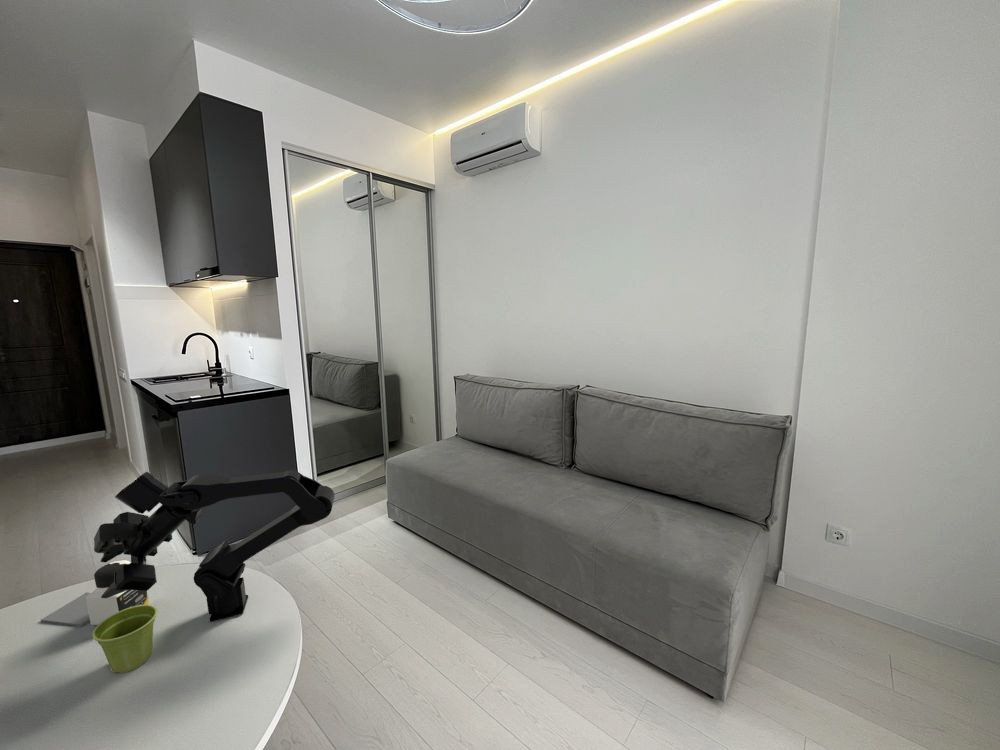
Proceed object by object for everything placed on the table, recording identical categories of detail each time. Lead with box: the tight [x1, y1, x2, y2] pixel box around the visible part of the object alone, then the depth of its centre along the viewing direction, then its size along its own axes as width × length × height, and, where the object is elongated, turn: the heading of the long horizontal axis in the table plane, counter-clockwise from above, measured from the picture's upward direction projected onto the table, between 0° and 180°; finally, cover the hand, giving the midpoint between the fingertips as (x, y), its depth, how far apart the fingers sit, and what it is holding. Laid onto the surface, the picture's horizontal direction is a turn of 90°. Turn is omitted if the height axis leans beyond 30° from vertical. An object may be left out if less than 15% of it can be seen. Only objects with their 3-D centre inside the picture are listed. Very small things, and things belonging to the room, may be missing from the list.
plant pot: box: [91, 604, 158, 674], centre depth 81 cm, size 9×9×9 cm
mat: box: [40, 592, 91, 628], centre depth 95 cm, size 11×9×1 cm
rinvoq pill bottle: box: [86, 559, 149, 626], centre depth 93 cm, size 7×7×12 cm
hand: (103, 579), depth 87 cm, fingers open, 9 cm apart
